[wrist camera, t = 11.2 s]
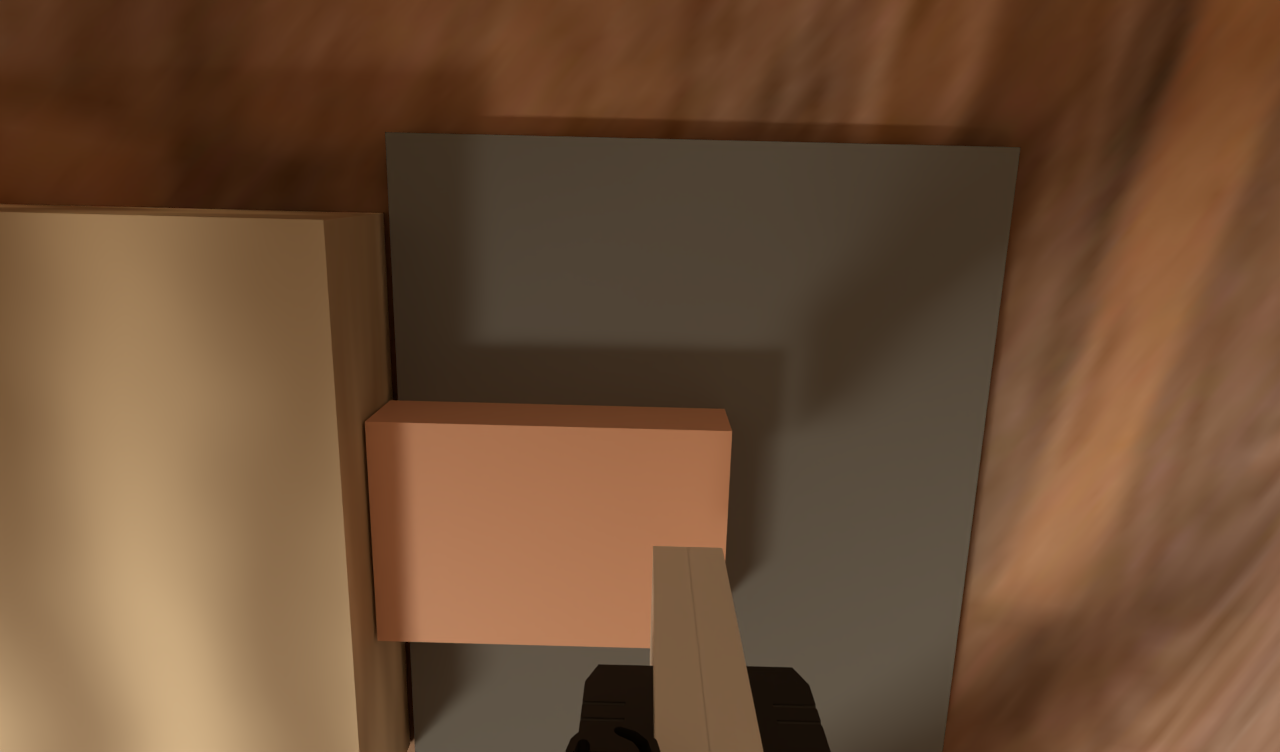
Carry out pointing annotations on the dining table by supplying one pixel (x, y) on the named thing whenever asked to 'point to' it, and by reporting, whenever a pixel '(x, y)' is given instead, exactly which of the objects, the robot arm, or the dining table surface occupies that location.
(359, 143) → the dining table surface
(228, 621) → the birch serving board
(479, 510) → the terracotta tile
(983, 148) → the rubber mat
